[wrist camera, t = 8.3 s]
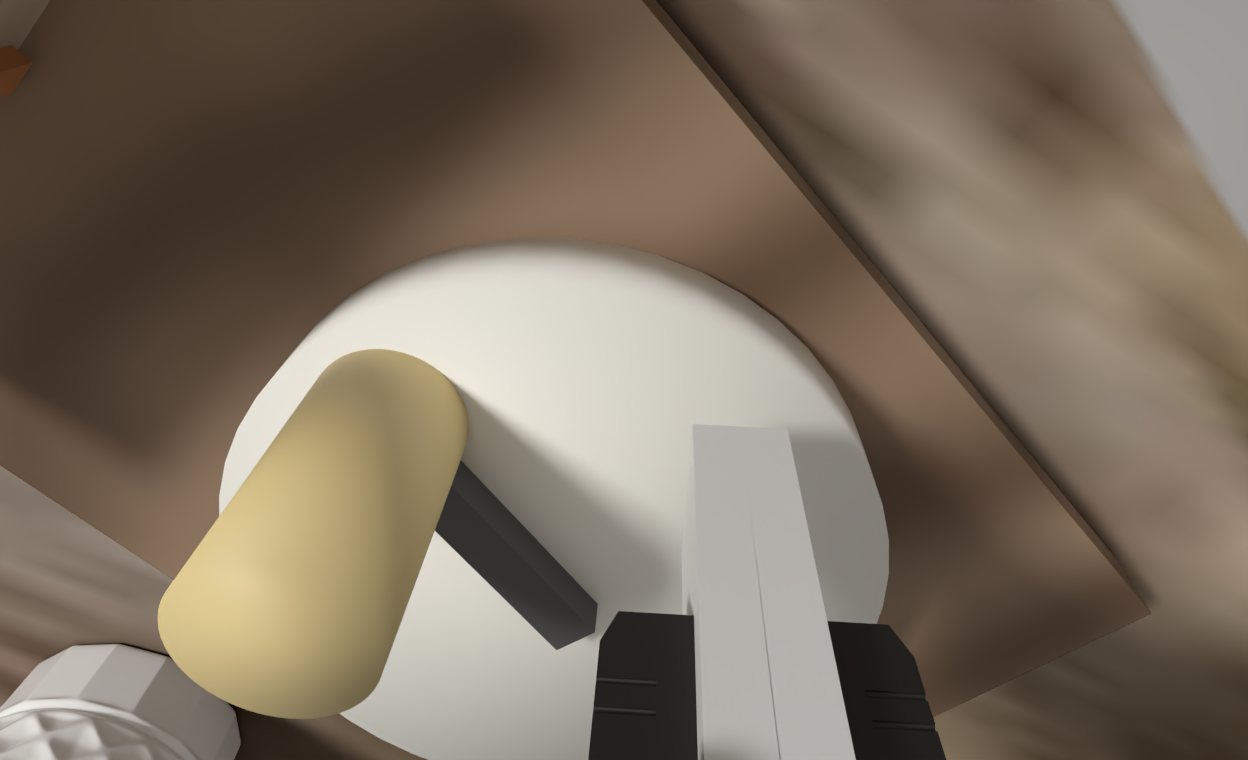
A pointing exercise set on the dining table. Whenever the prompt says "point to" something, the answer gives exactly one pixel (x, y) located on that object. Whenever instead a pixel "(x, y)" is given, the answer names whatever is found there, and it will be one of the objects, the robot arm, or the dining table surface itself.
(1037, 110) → the dining table surface
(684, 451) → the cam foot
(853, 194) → the dining table surface
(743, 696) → the robot arm
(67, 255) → the stand
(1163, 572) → the dining table surface
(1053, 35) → the dining table surface
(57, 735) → the white cup
